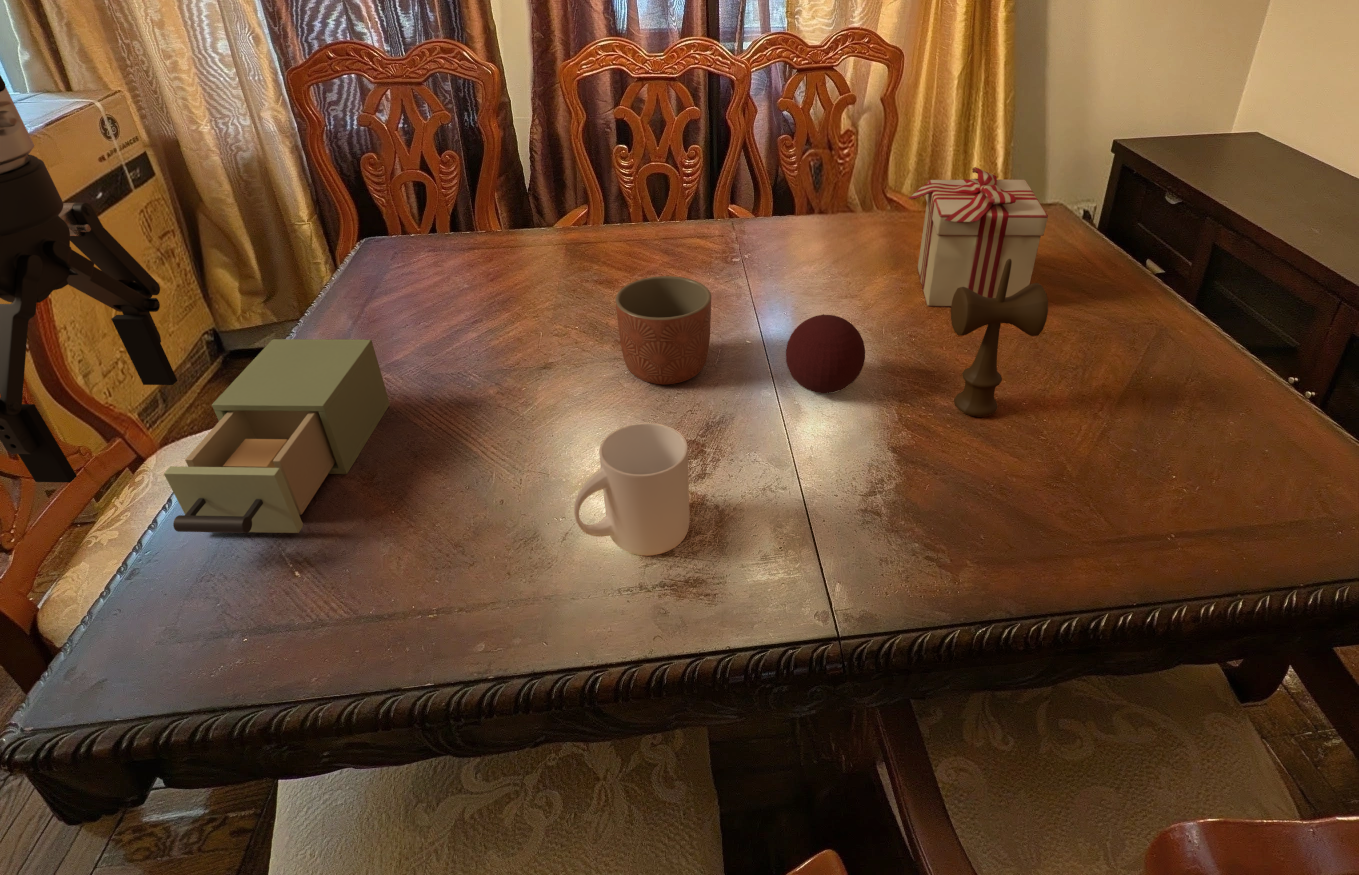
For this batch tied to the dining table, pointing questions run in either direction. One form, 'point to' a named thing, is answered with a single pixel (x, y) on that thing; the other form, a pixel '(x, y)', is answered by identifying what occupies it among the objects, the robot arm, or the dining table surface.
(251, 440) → the block
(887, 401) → the dining table surface
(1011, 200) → the gift box
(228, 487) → the drawer
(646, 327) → the planter
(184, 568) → the dining table surface
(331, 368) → the cabinet
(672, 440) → the mug
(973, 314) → the kendama
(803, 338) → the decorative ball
